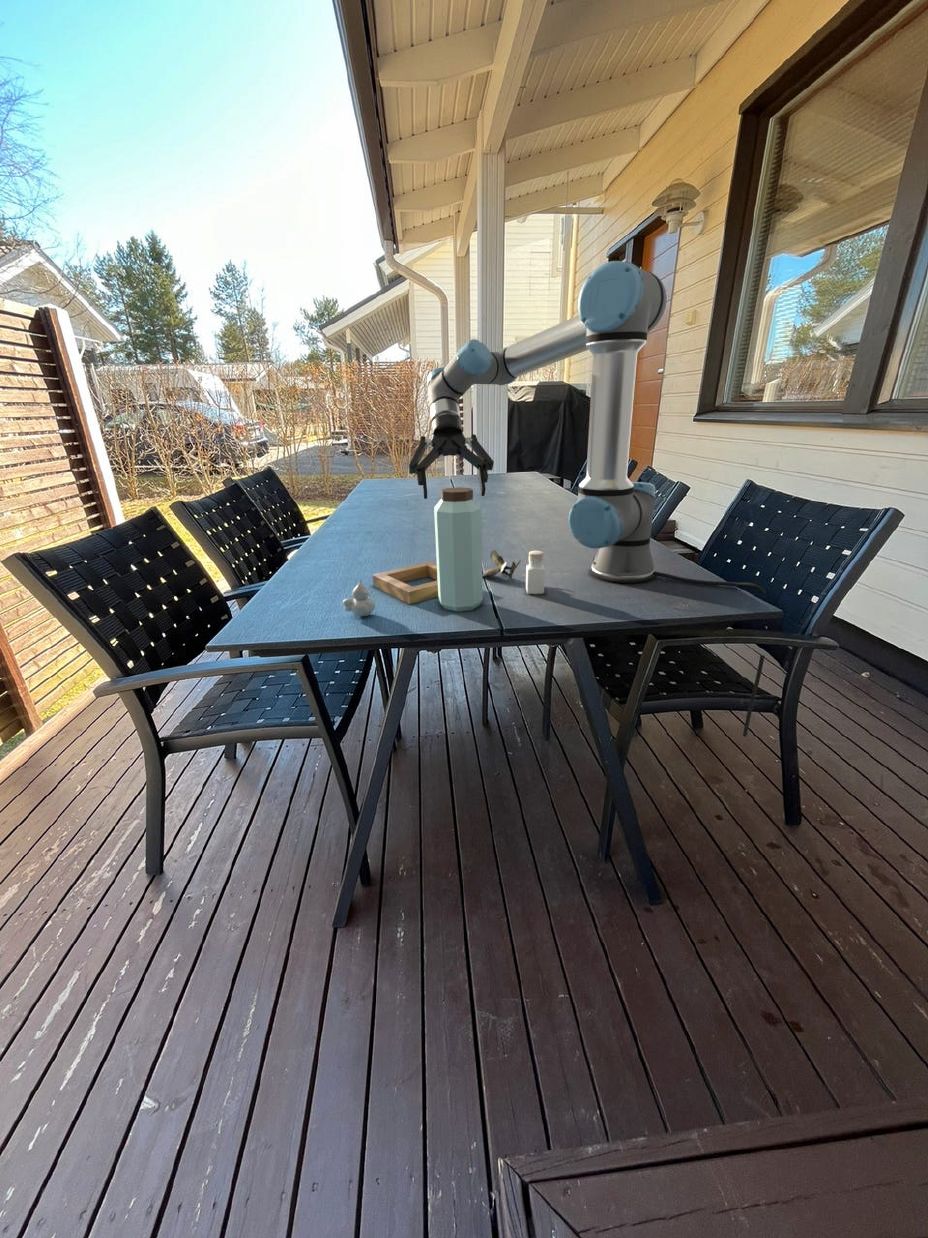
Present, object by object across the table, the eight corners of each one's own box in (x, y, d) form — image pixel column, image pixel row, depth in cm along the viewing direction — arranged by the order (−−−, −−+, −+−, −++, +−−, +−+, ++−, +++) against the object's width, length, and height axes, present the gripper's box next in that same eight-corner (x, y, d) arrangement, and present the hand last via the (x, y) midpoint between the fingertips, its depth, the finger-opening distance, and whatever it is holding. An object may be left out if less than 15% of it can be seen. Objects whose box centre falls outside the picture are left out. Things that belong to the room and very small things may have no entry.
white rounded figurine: (375, 619, 110) (372, 582, 107) (343, 621, 109) (339, 584, 106) (376, 609, 115) (373, 574, 111) (345, 611, 114) (341, 576, 111)
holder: (469, 587, 126) (469, 576, 125) (410, 604, 117) (409, 591, 116) (430, 572, 139) (429, 561, 138) (373, 586, 130) (372, 574, 128)
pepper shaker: (526, 594, 121) (527, 554, 117) (525, 589, 124) (526, 550, 121) (544, 594, 121) (545, 554, 117) (542, 589, 124) (544, 550, 121)
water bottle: (478, 614, 111) (476, 493, 101) (432, 611, 113) (426, 493, 103) (486, 597, 120) (485, 486, 110) (443, 595, 122) (439, 485, 112)
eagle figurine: (522, 570, 135) (492, 559, 139) (519, 552, 129) (488, 541, 133) (507, 592, 132) (477, 580, 136) (504, 574, 126) (472, 562, 130)
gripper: (493, 432, 135) (505, 500, 127) (396, 435, 133) (401, 505, 125) (497, 410, 128) (509, 481, 120) (395, 413, 126) (400, 486, 118)
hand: (454, 494), depth 122 cm, fingers open, 13 cm apart
